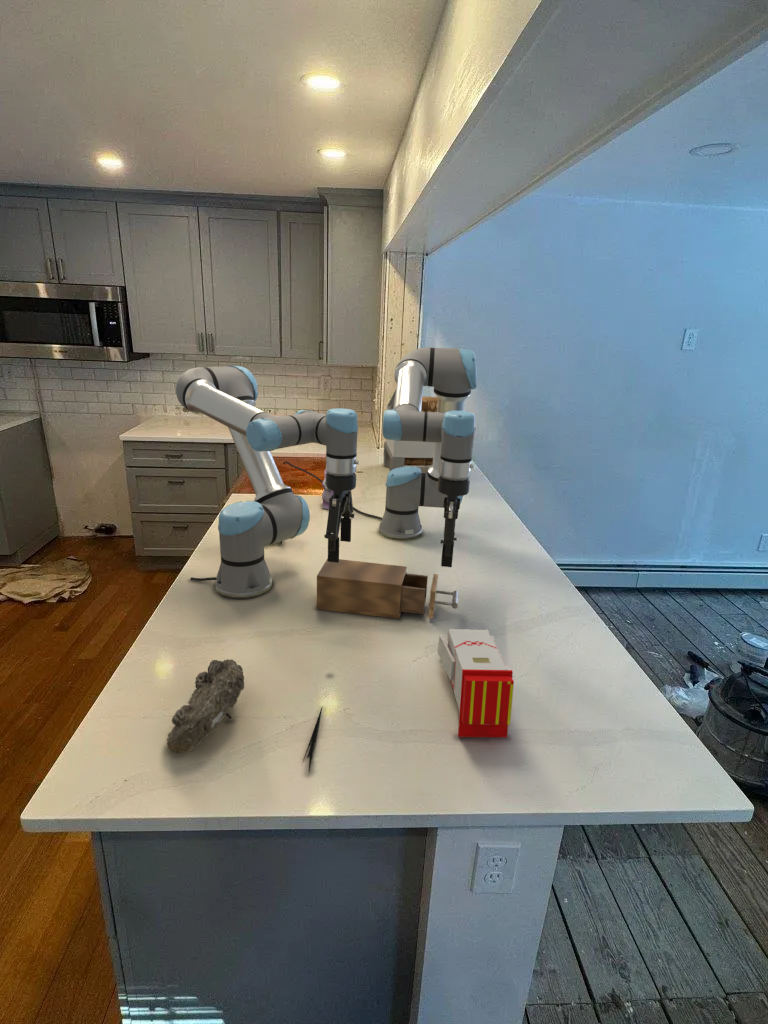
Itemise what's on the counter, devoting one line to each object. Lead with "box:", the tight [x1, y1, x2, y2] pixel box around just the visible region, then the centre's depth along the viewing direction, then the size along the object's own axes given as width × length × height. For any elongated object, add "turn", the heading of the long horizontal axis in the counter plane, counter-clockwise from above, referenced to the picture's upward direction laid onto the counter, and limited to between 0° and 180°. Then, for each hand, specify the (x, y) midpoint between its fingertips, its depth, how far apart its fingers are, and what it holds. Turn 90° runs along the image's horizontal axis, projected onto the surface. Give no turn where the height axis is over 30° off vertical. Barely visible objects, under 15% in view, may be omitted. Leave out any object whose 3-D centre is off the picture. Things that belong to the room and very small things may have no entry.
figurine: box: [321, 468, 335, 510], centre depth 222 cm, size 9×10×15 cm
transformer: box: [383, 389, 438, 472], centre depth 268 cm, size 34×33×41 cm
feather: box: [301, 673, 332, 771], centre depth 108 cm, size 2×28×2 cm
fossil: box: [166, 658, 245, 754], centre depth 106 cm, size 22×10×15 cm
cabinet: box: [316, 558, 408, 620], centre depth 150 cm, size 22×11×10 cm, turn 81°
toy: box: [437, 628, 515, 738], centre depth 117 cm, size 12×13×30 cm
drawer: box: [400, 572, 460, 619], centre depth 149 cm, size 26×10×8 cm, turn 81°
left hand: (339, 550), depth 148 cm, fingers open, 13 cm apart
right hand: (446, 565), depth 144 cm, fingers closed
